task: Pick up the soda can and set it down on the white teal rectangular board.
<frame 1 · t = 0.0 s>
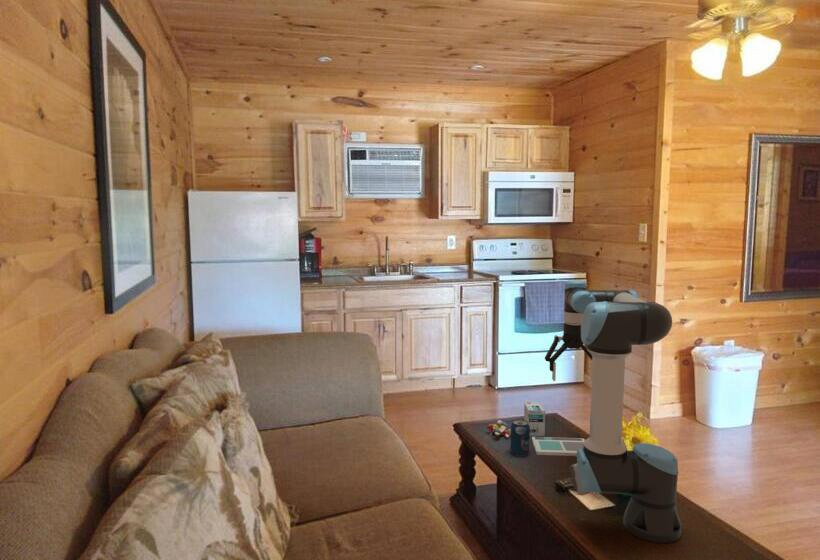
hand: (572, 380, 207), 28 cm above the table, tool pointing down, fingers open, 13 cm apart
light bulb box: (533, 431, 232), on the table
soda can: (519, 453, 211), on the table
electrical switch: (584, 489, 184), on the table
white teal rectangular board: (560, 447, 215), on the table
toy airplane: (500, 436, 227), on the table
puzzle cube: (605, 471, 197), on the table
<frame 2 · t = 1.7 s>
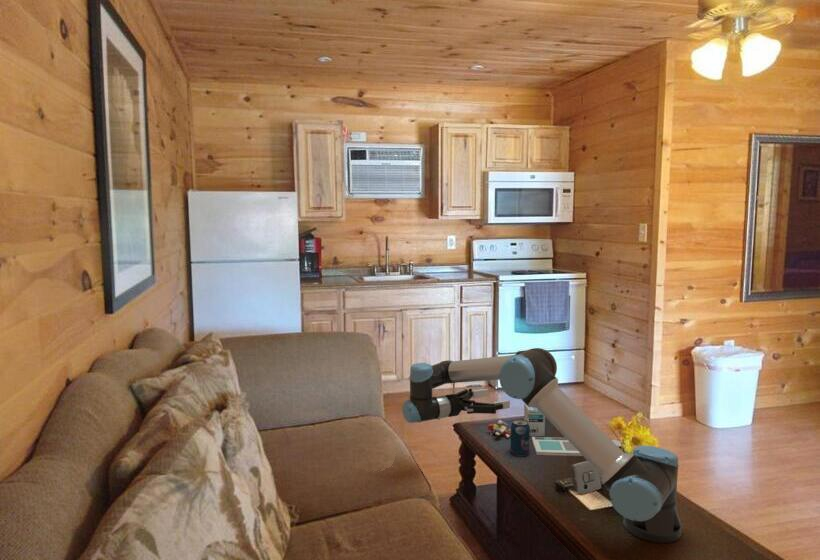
hand: (498, 398, 204), 23 cm above the table, tool horizontal, fingers open, 13 cm apart
nothing on the table moved.
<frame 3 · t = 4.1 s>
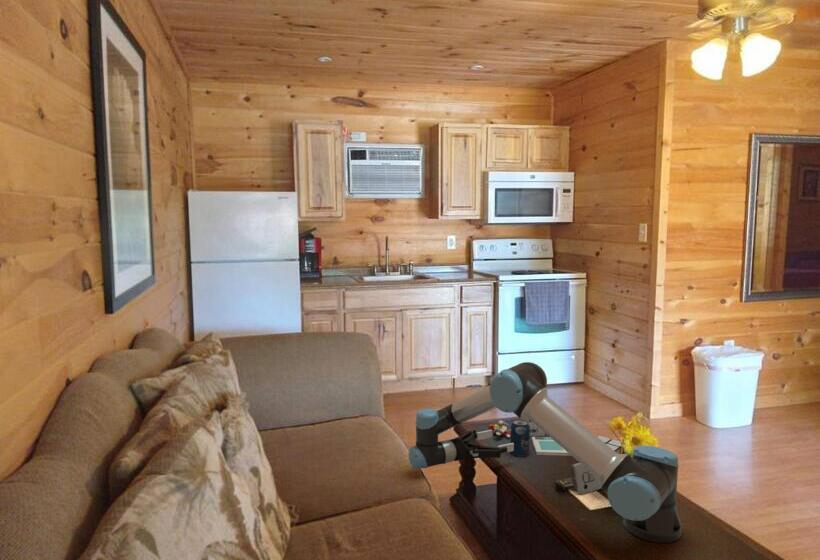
hand: (502, 439, 207), 6 cm above the table, tool horizontal, fingers open, 13 cm apart
nothing on the table moved.
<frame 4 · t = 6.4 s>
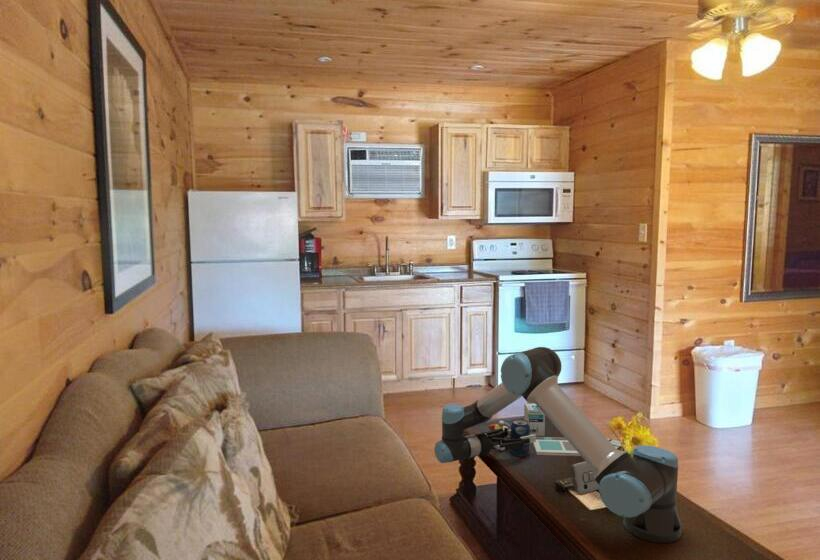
hand: (528, 434, 212), 7 cm above the table, tool horizontal, fingers closed on soda can, 7 cm apart
soda can: (519, 453, 211), on the table, touching gripper
everything else where it was.
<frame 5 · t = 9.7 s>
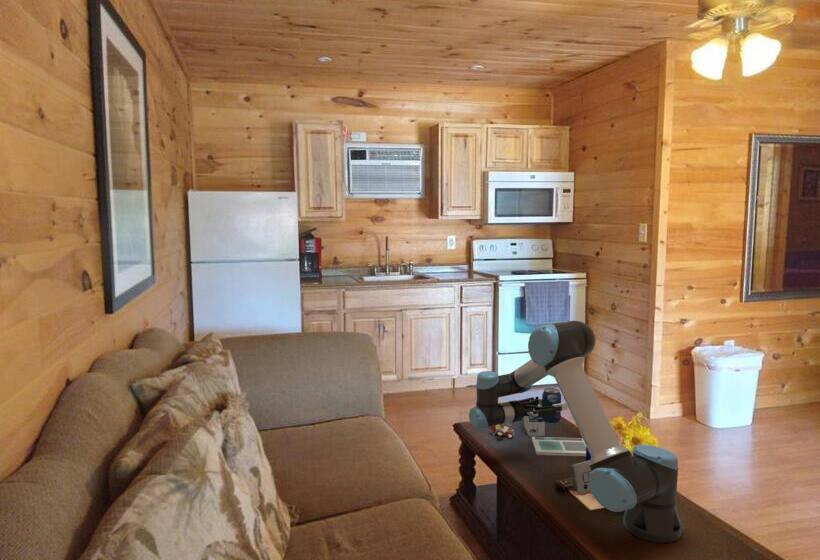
hand: (559, 403, 214), 17 cm above the table, tool horizontal, fingers closed on soda can, 7 cm apart
soda can: (551, 421, 214), point 11 cm above the table, touching gripper
when the fingers open (8 cm above the table, at t = 12.9 s): soda can stays where it is, resting on white teal rectangular board.
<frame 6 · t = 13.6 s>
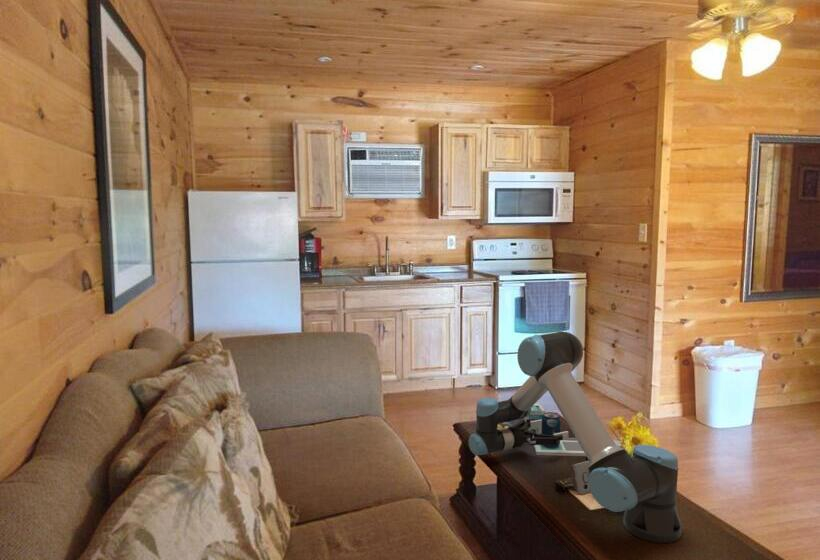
hand: (555, 428, 215), 7 cm above the table, tool horizontal, fingers open, 13 cm apart
soda can: (550, 445, 215), point 1 cm above the table, touching white teal rectangular board
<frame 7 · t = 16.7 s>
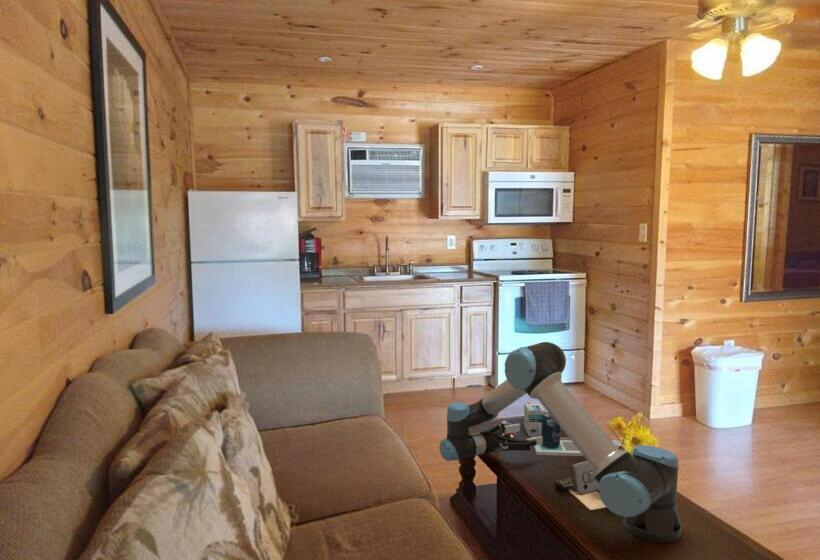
hand: (530, 433, 210), 8 cm above the table, tool horizontal, fingers open, 13 cm apart
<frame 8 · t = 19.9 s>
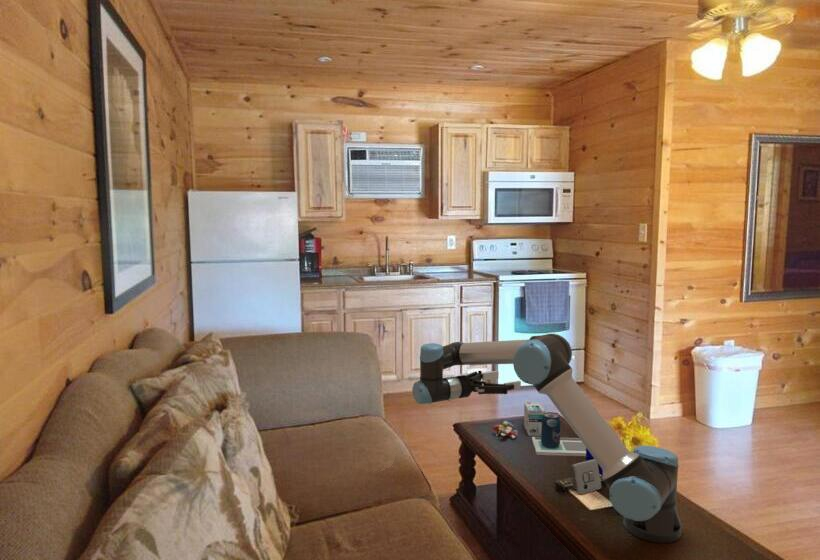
hand: (508, 379, 201), 30 cm above the table, tool horizontal, fingers open, 13 cm apart
at the end: soda can inside the target area on the white teal rectangular board (0.0 cm from its centre), point 1.1 cm above the white teal rectangular board's base; soda can tilted 0°; the gripper is holding nothing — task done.
